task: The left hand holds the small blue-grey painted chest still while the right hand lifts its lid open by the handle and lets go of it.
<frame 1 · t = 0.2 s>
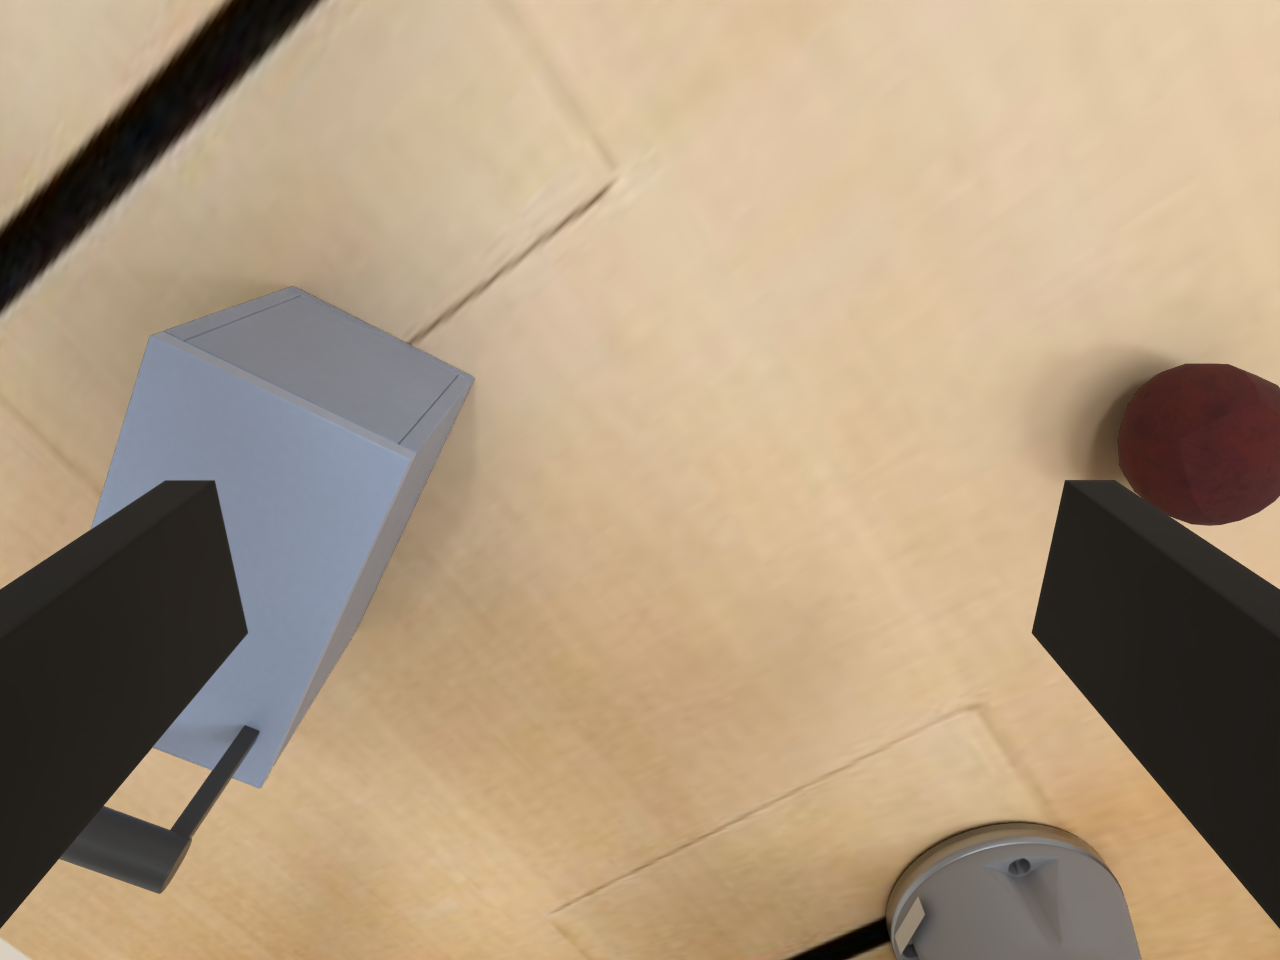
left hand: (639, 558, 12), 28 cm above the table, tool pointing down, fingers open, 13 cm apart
dark red ball: (1157, 418, 41), on the table
lid: (163, 637, 28), point 15 cm above the table, hinge at 0.0°
chest: (327, 473, 42), on the table
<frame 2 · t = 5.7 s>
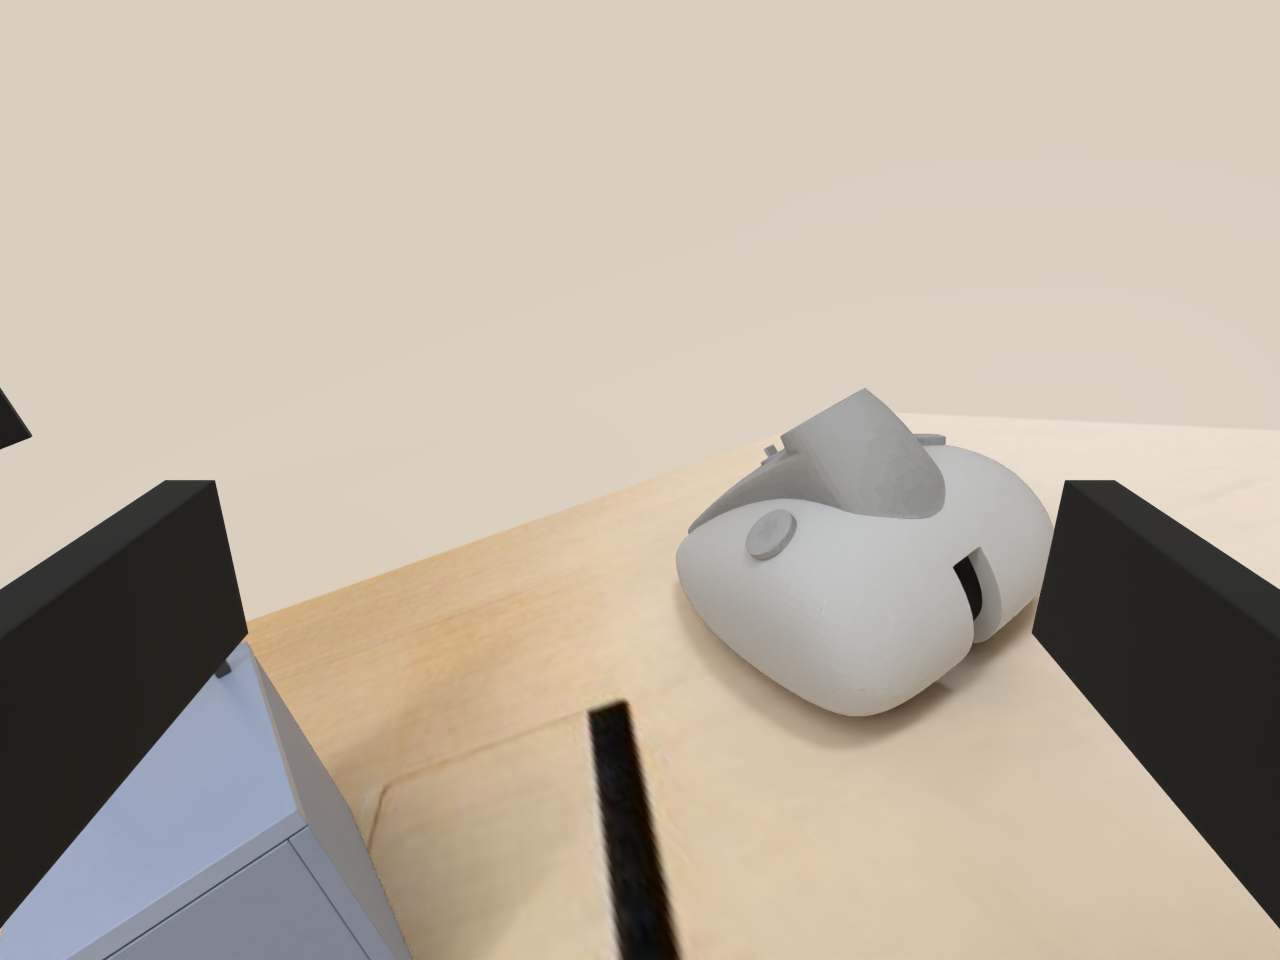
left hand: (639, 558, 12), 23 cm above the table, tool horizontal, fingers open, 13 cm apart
lid: (105, 711, 31), point 15 cm above the table, hinge at 0.0°
projector: (829, 614, 47), on the table
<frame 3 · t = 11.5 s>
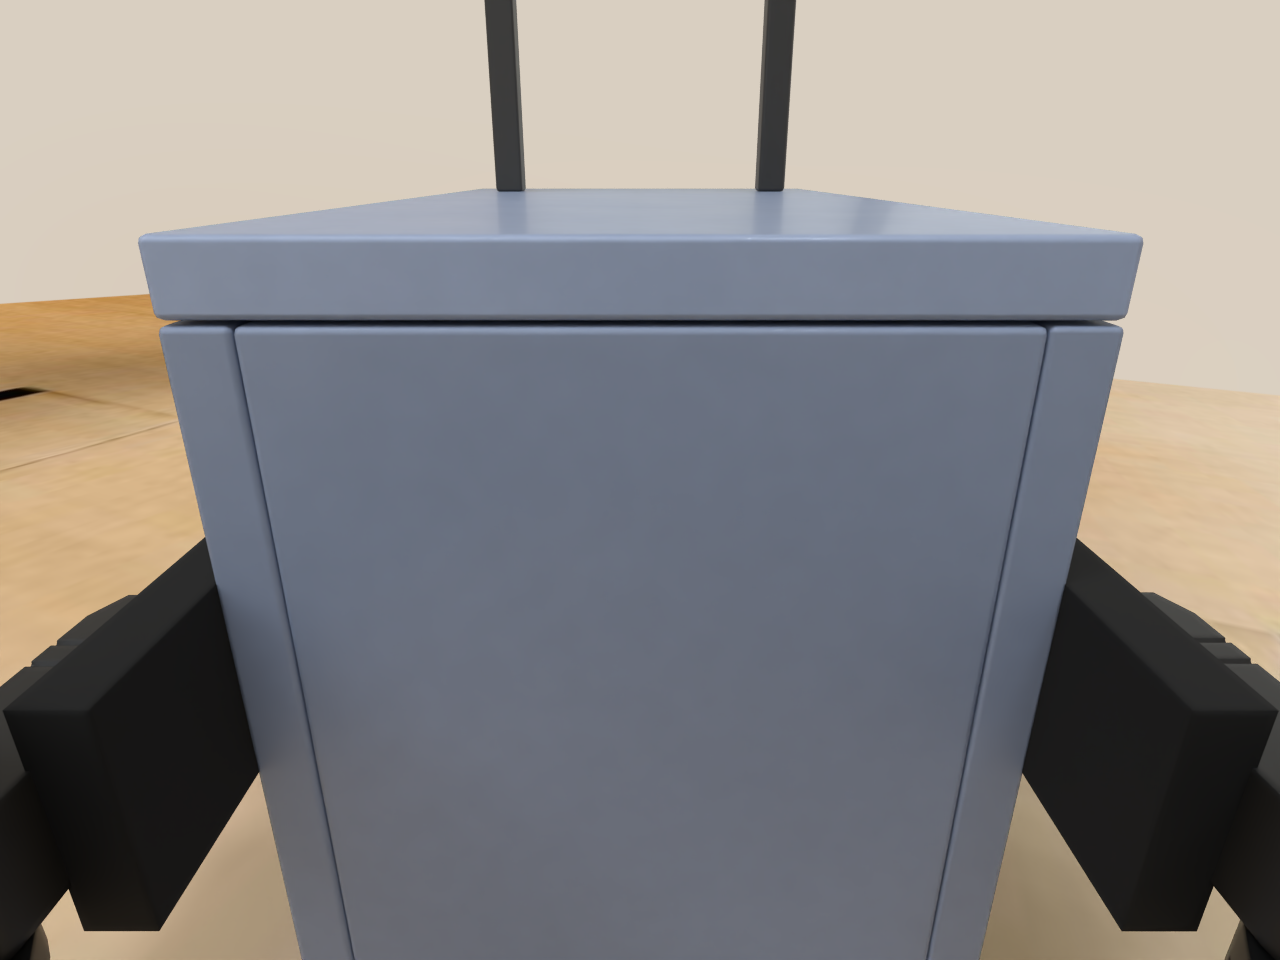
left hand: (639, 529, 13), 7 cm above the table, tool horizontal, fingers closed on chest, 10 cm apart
lid: (640, 7, 14), point 15 cm above the table, hinge at 0.0°
chest: (640, 701, 20), on the table, touching left hand
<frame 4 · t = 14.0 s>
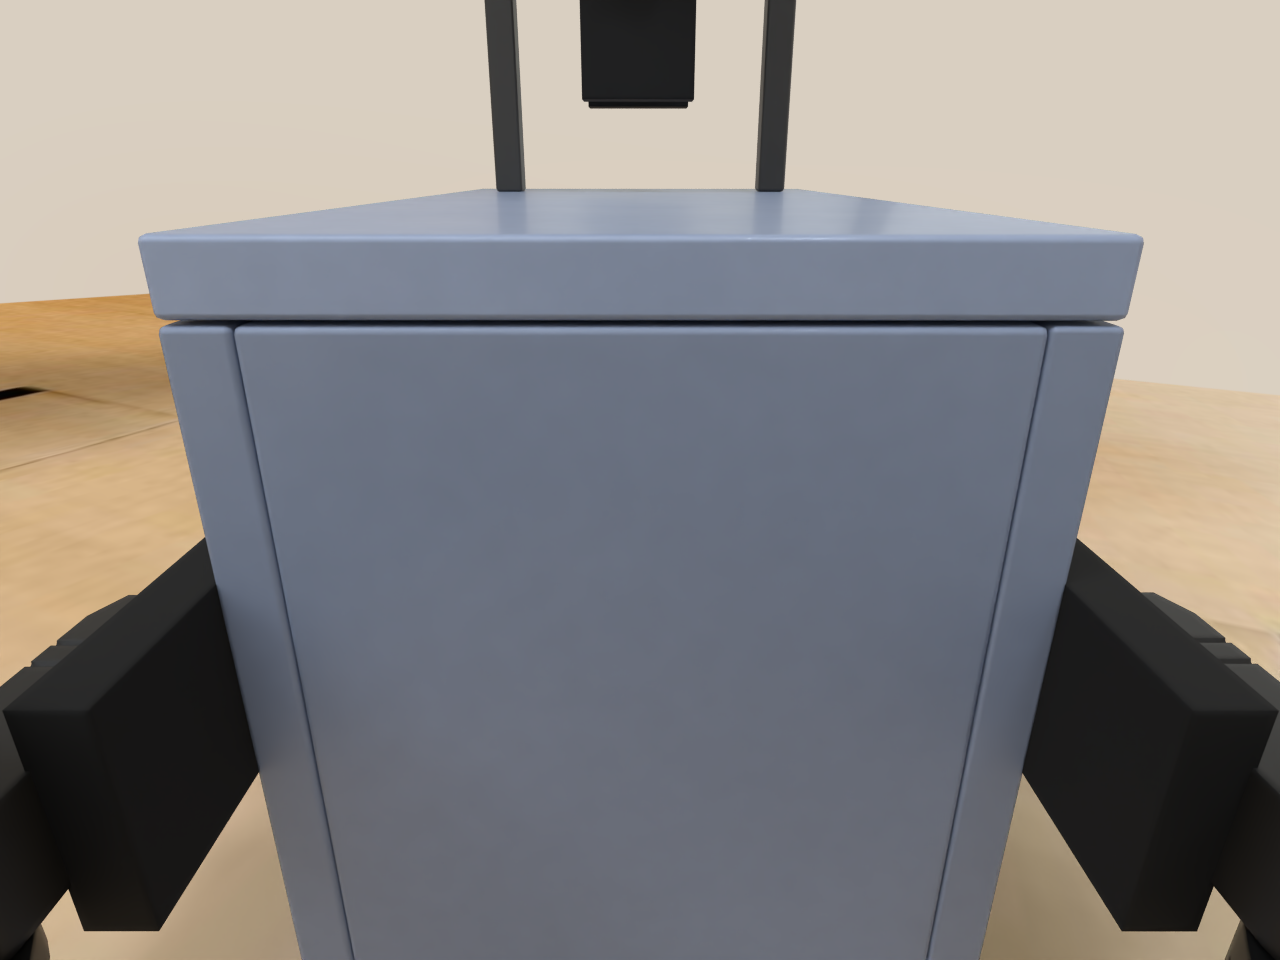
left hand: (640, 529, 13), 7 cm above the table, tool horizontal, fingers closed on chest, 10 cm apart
lid: (640, 7, 14), point 15 cm above the table, hinge at -0.1°, touching right hand
chest: (640, 701, 20), on the table, touching left hand
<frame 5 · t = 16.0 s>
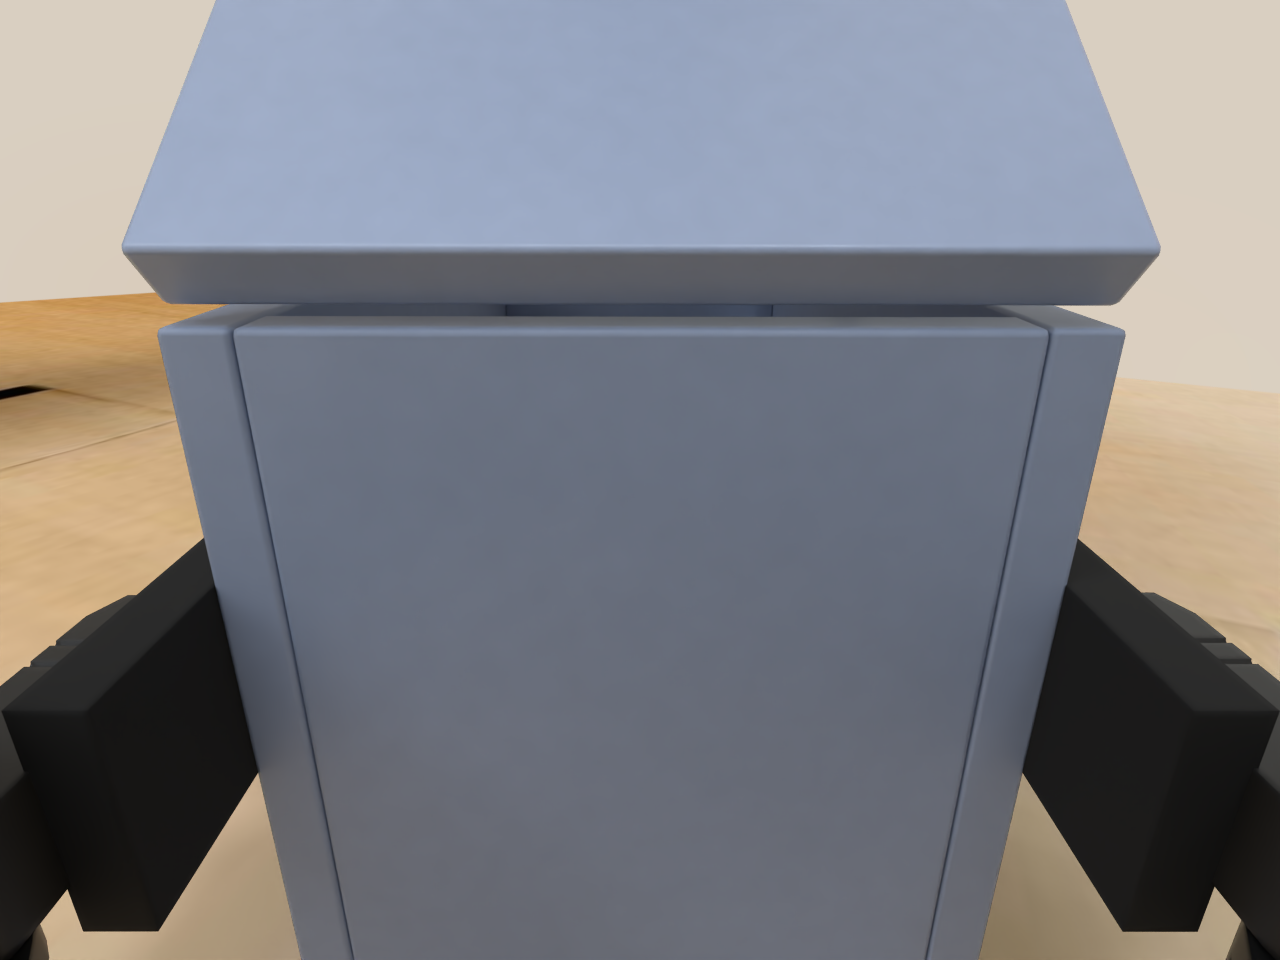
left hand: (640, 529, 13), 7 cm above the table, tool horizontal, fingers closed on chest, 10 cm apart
chest: (639, 700, 20), on the table, touching left hand
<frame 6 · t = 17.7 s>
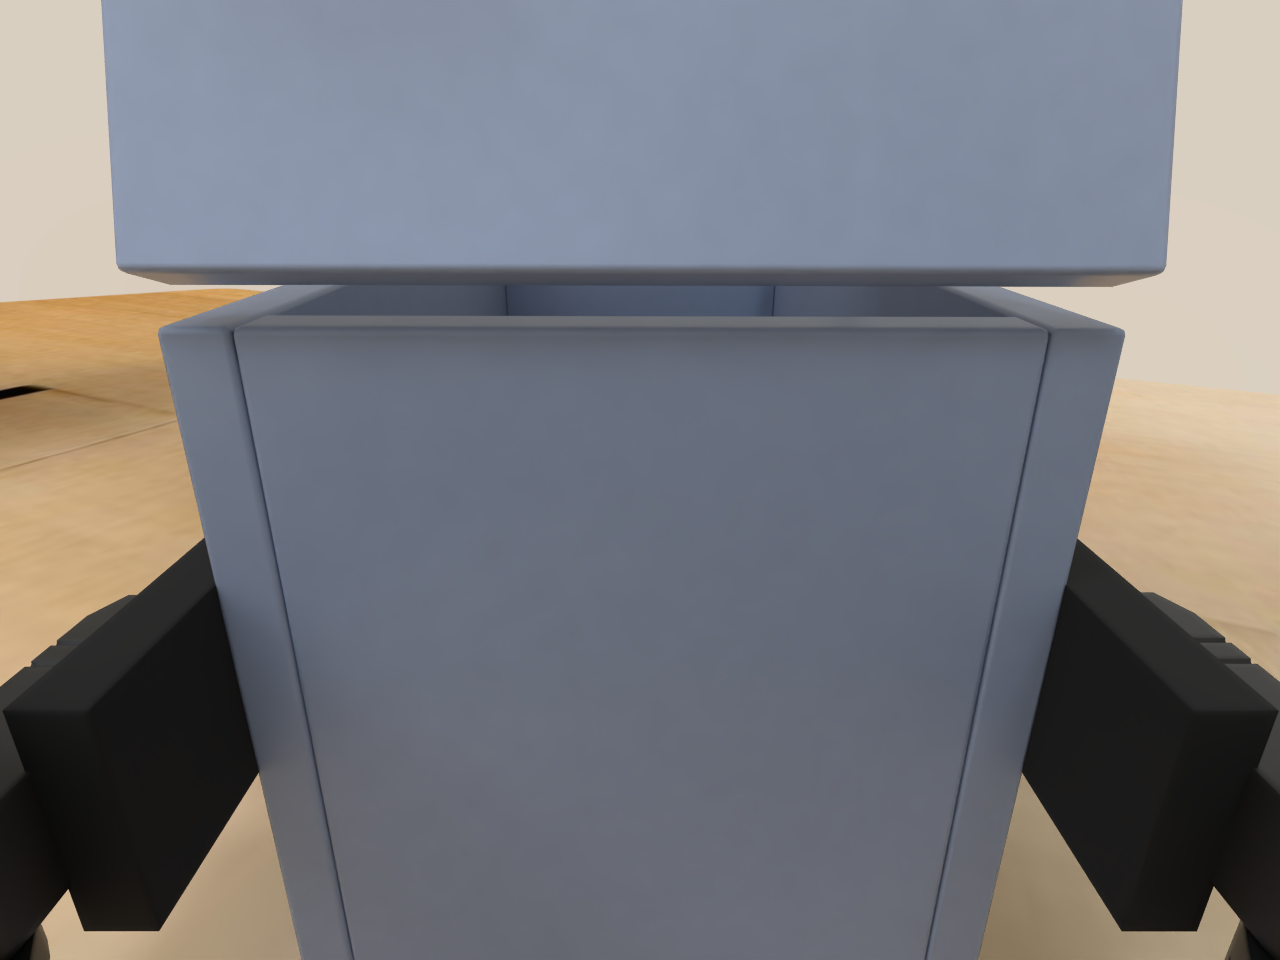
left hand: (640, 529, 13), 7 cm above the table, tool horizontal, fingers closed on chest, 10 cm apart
chest: (639, 699, 20), on the table, touching left hand
when the left hand's fingers open (7 cm above the table, at t = 21.7 s): chest stays where it is, on the table.
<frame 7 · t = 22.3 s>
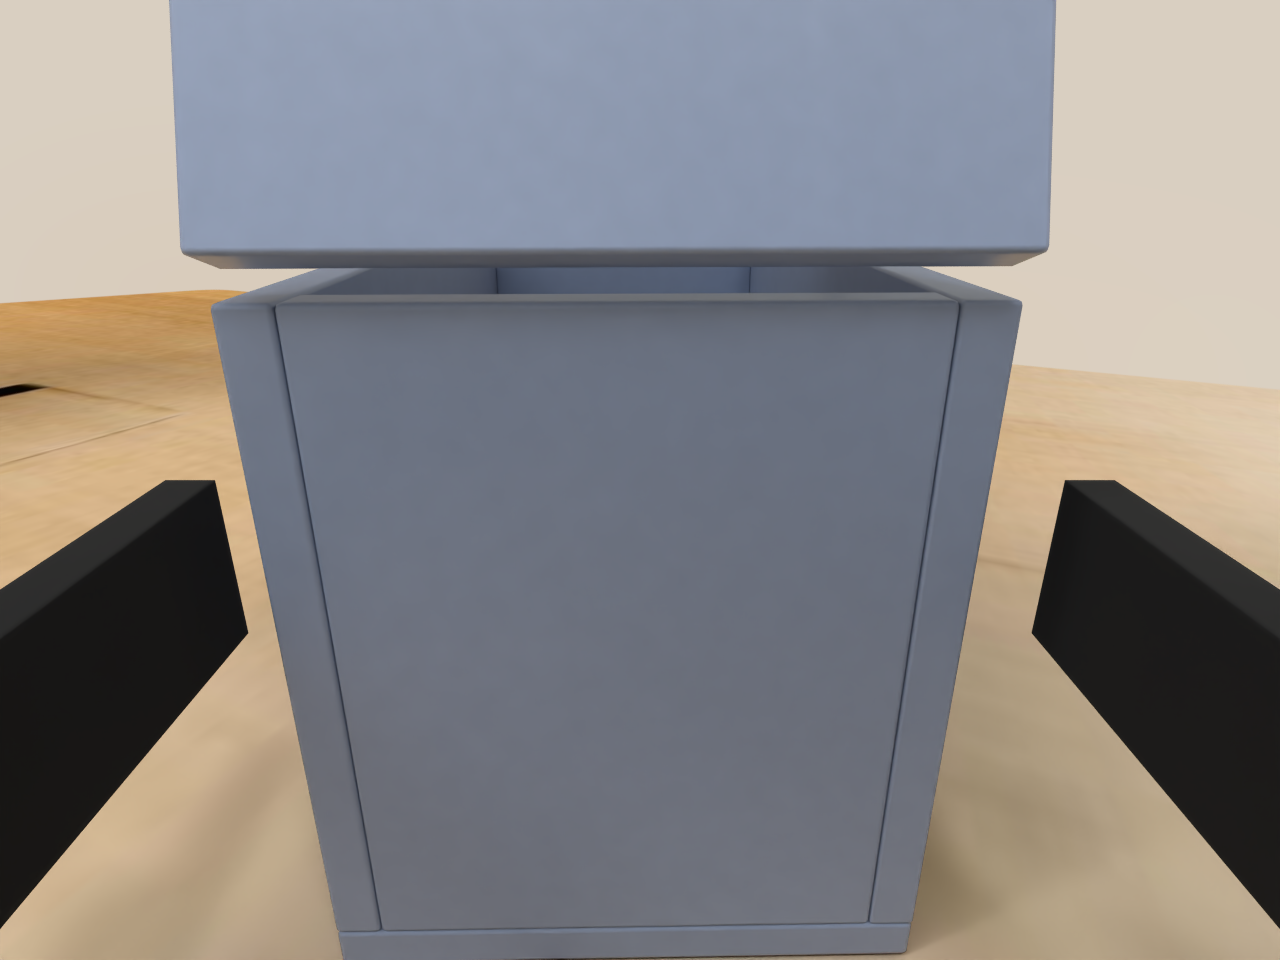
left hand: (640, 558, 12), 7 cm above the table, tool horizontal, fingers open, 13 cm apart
chest: (626, 664, 21), on the table
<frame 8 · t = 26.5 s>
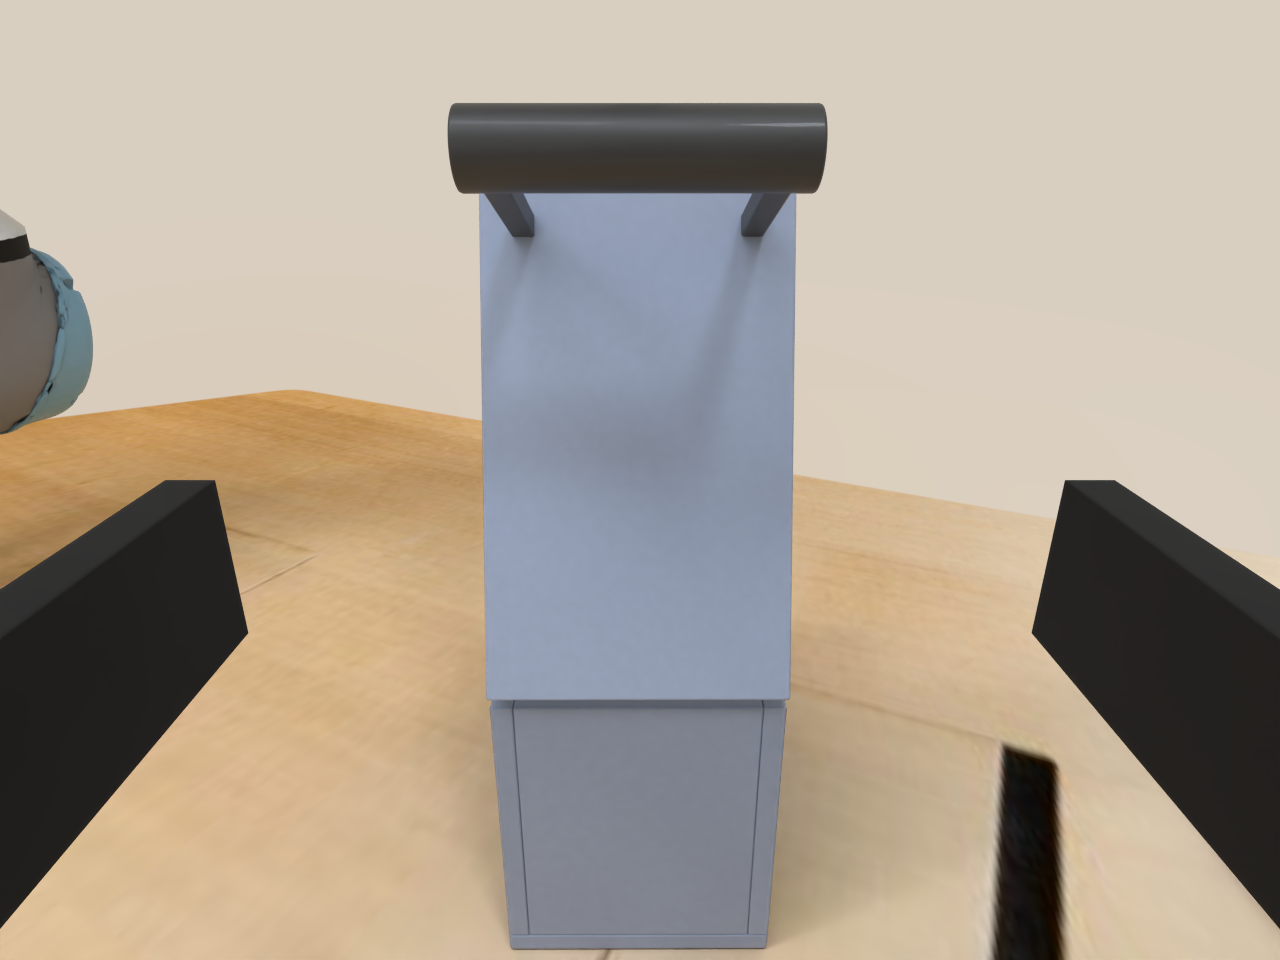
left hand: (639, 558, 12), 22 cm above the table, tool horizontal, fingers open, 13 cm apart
lid: (637, 422, 21), point 21 cm above the table, hinge at 72.0°
chest: (638, 783, 38), on the table
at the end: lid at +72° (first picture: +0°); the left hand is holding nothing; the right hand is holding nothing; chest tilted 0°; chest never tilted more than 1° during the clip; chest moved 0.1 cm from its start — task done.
